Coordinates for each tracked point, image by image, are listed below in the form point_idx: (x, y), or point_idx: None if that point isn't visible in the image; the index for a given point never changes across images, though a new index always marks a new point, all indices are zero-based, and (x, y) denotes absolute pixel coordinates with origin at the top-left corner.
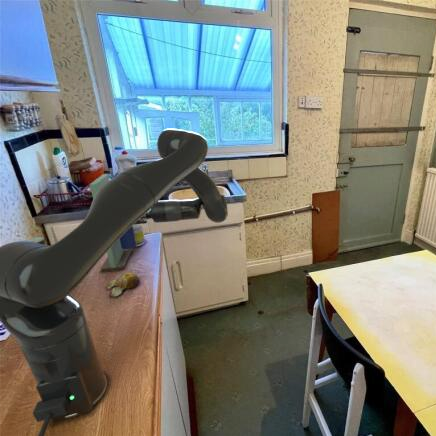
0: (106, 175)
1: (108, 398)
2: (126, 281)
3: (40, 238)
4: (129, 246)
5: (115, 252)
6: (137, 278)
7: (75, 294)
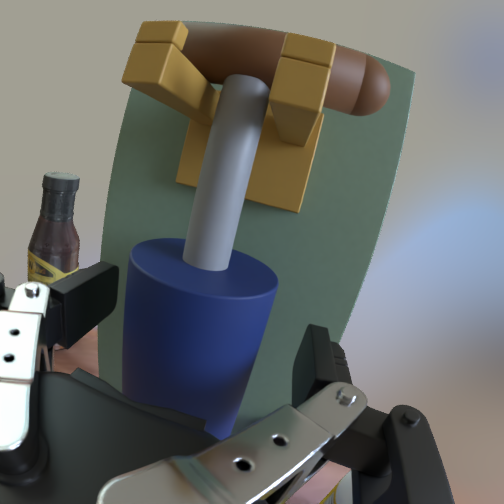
0: (384, 61)
1: None
2: None
3: (60, 176)
4: None
5: None
6: None
7: (58, 364)
